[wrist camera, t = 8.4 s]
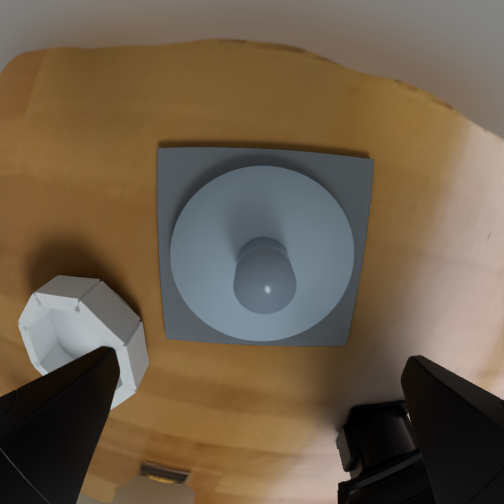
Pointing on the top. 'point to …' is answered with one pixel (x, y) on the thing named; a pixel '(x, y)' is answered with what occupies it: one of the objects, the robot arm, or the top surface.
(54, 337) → the bowl
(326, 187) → the plate
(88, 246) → the top surface
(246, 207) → the lid
